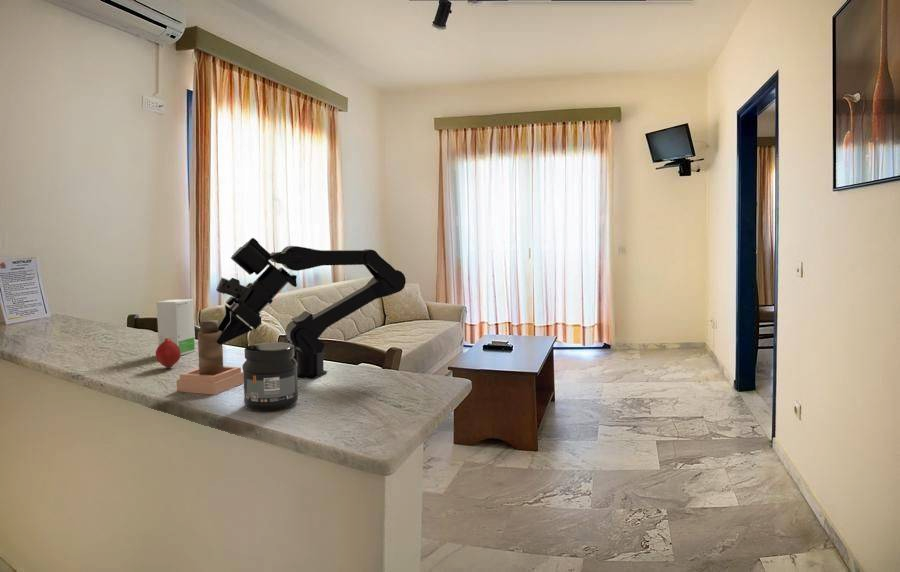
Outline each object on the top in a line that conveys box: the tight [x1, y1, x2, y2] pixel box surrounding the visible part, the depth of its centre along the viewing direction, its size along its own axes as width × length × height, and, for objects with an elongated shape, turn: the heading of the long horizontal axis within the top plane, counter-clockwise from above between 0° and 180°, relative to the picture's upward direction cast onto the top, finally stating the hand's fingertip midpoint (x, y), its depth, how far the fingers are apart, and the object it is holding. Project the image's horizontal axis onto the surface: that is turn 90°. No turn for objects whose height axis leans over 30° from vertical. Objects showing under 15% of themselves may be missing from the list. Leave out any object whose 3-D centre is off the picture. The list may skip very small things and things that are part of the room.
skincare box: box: [156, 298, 197, 356], centre depth 161 cm, size 8×7×16 cm
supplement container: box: [241, 341, 299, 413], centre depth 112 cm, size 10×10×12 cm
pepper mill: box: [197, 319, 224, 376], centre depth 125 cm, size 5×5×12 cm
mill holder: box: [175, 365, 244, 396], centre depth 126 cm, size 10×10×4 cm
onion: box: [155, 338, 182, 369], centre depth 144 cm, size 6×6×8 cm
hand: (216, 339), depth 126 cm, fingers open, 9 cm apart
